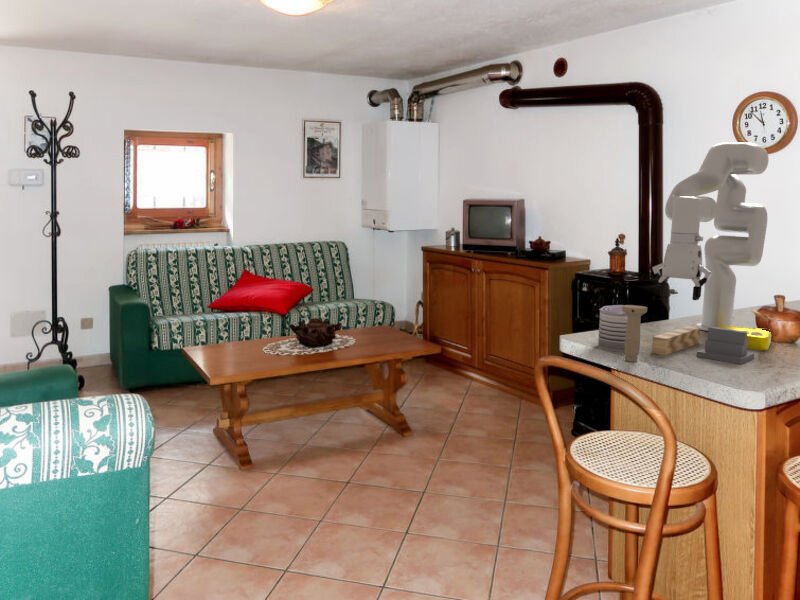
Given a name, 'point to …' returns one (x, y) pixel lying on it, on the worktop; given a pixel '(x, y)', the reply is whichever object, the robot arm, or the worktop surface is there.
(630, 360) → the handle
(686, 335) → the oak batten
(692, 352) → the worktop surface
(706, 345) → the fulcrum stand
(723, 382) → the worktop surface
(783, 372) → the worktop surface
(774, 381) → the worktop surface
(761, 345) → the element tile
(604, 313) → the can
